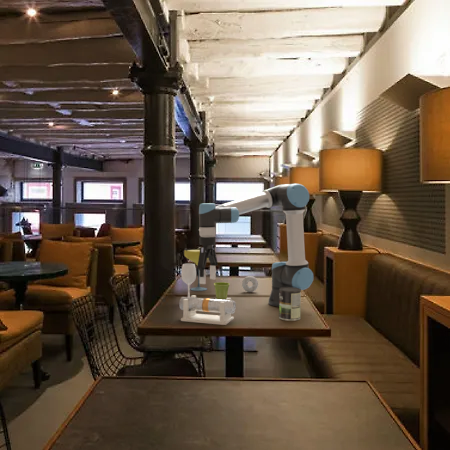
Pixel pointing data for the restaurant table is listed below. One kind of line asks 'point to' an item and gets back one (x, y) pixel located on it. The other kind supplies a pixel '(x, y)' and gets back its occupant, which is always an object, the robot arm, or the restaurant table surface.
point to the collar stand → (204, 318)
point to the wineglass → (188, 275)
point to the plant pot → (221, 290)
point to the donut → (247, 279)
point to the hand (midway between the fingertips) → (207, 281)
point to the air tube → (208, 305)
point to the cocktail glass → (194, 256)
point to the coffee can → (289, 303)
